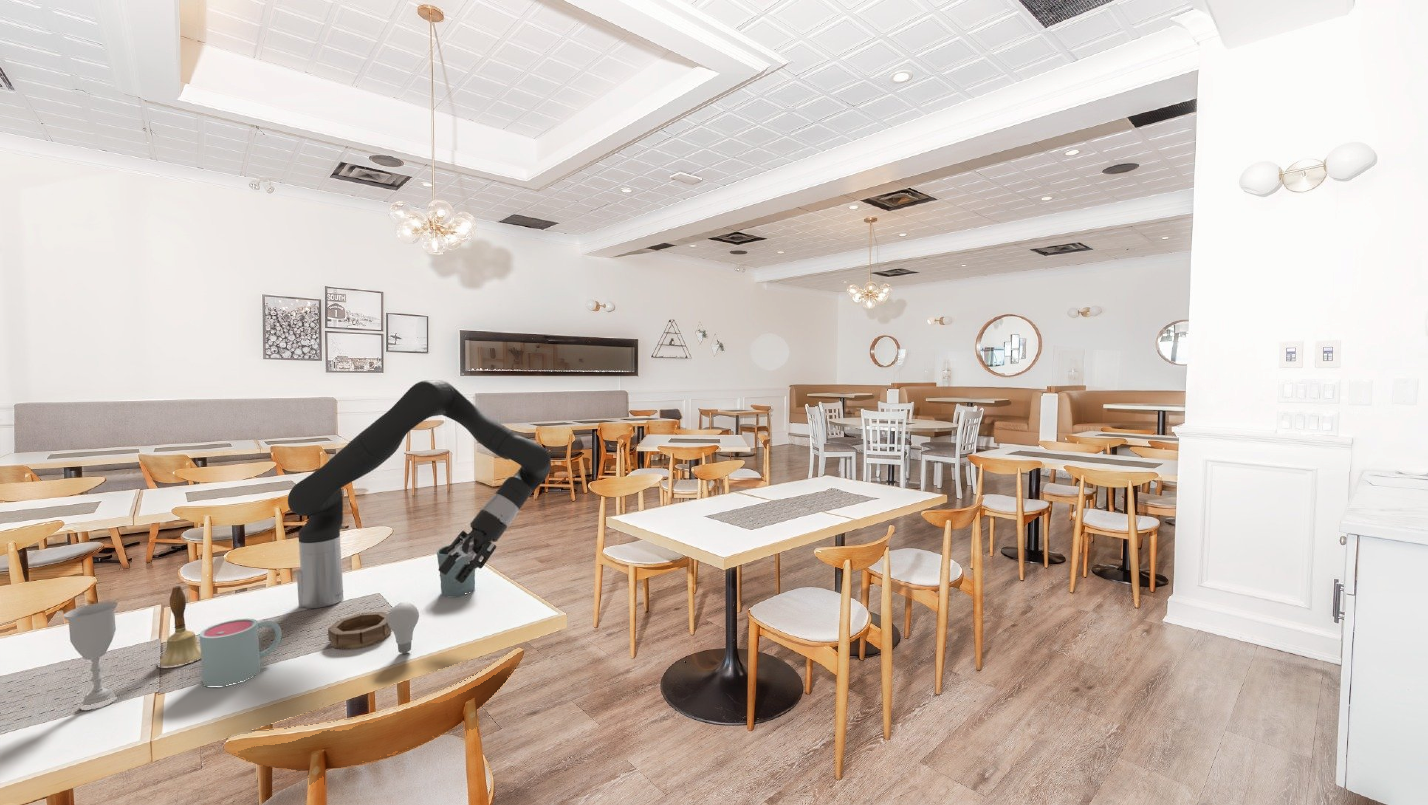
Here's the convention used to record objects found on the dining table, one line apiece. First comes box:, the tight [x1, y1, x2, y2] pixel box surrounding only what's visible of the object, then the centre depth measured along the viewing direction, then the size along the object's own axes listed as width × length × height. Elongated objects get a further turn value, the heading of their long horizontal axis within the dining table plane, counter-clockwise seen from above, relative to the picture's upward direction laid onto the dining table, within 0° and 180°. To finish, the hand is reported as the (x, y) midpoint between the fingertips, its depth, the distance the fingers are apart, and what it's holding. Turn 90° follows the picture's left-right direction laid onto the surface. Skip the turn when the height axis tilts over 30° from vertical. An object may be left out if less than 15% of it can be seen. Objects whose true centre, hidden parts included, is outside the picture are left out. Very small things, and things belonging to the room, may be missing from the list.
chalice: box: [63, 601, 118, 705], centre depth 114 cm, size 7×7×18 cm
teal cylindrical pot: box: [436, 544, 476, 597], centre depth 169 cm, size 10×10×12 cm
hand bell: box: [159, 585, 201, 666], centre depth 131 cm, size 8×8×16 cm
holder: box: [327, 611, 392, 651], centre depth 141 cm, size 12×12×4 cm
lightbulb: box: [387, 602, 420, 655], centre depth 132 cm, size 6×6×11 cm
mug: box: [199, 618, 283, 687], centre depth 126 cm, size 14×9×10 cm
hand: (449, 576), depth 140 cm, fingers open, 8 cm apart
